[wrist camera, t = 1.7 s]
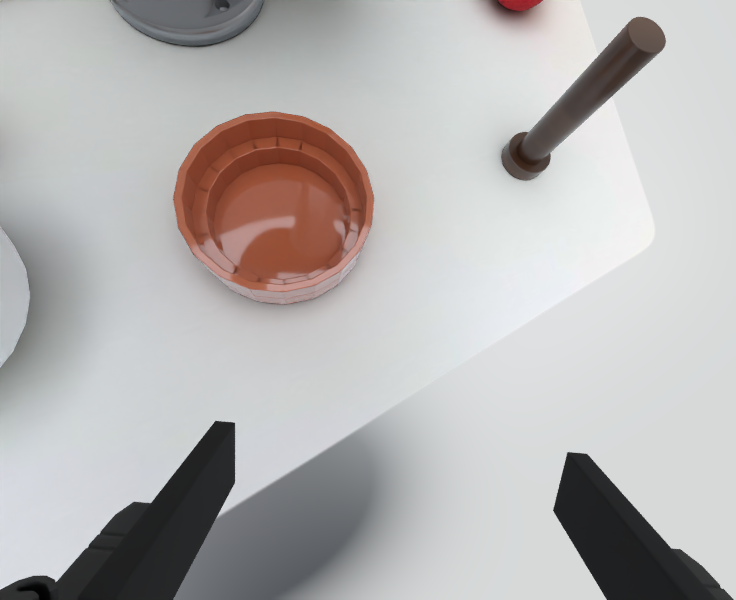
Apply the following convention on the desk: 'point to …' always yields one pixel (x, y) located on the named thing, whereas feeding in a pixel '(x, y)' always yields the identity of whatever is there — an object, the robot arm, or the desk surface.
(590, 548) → the robot arm
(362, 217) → the bowl
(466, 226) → the desk surface
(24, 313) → the vase
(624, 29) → the muddler
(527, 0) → the apple
